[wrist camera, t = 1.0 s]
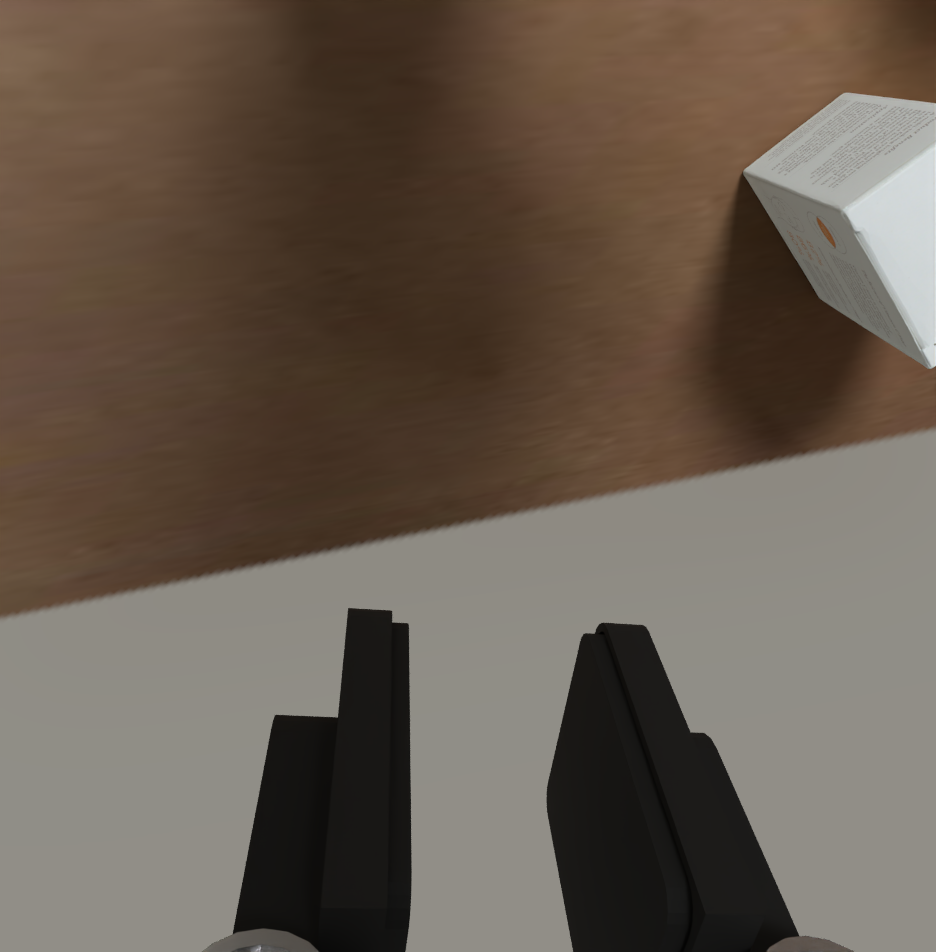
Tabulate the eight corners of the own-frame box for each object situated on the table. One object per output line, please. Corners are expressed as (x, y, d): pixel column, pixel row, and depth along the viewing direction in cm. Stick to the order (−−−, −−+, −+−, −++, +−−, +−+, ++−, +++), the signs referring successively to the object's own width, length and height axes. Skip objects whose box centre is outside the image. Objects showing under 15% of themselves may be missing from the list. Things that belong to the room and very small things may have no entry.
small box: (917, 228, 41) (1069, 285, 32) (816, 300, 42) (932, 376, 33) (844, 86, 38) (989, 103, 28) (737, 169, 39) (841, 212, 30)
